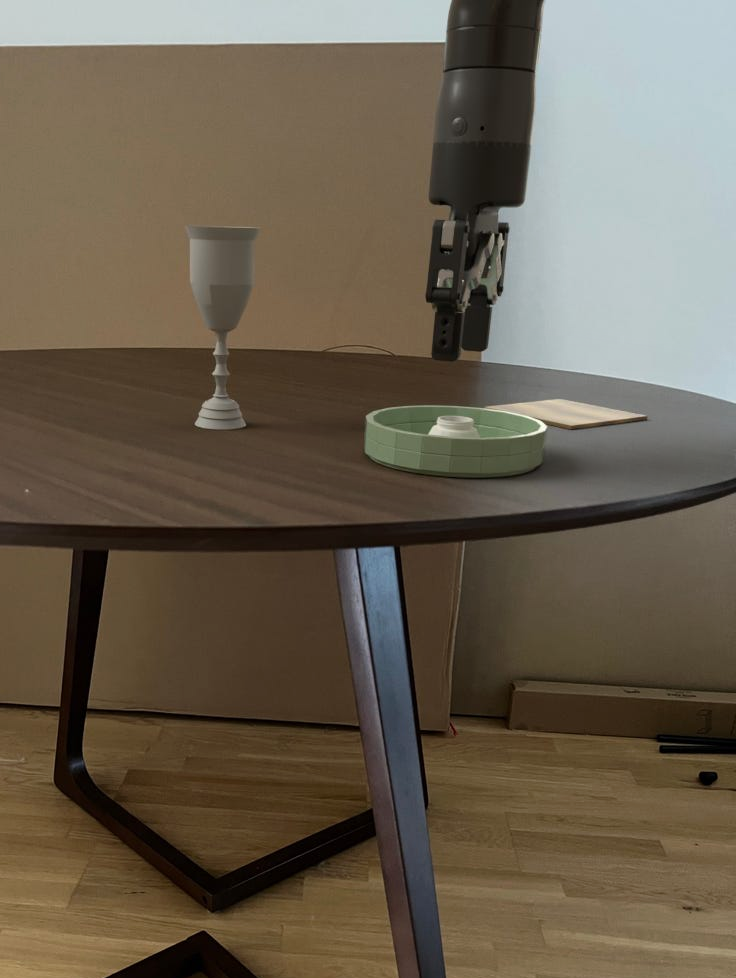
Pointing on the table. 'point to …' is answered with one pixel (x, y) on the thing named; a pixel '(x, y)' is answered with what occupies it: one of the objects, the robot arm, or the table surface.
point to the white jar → (454, 427)
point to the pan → (455, 442)
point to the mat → (569, 413)
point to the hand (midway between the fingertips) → (460, 355)
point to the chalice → (221, 303)
